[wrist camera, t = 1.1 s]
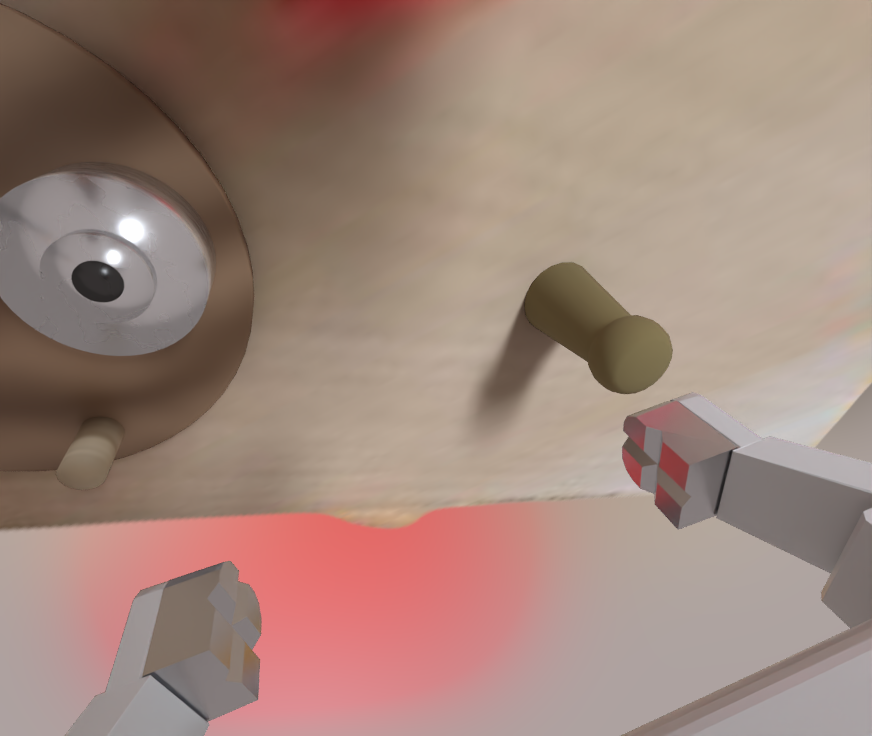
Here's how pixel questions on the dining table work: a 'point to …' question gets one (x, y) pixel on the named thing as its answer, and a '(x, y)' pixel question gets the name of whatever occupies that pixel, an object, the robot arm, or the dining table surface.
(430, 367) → the dining table surface
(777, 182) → the dining table surface
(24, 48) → the lazy susan
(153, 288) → the aluminium cover
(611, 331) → the olive pawn
